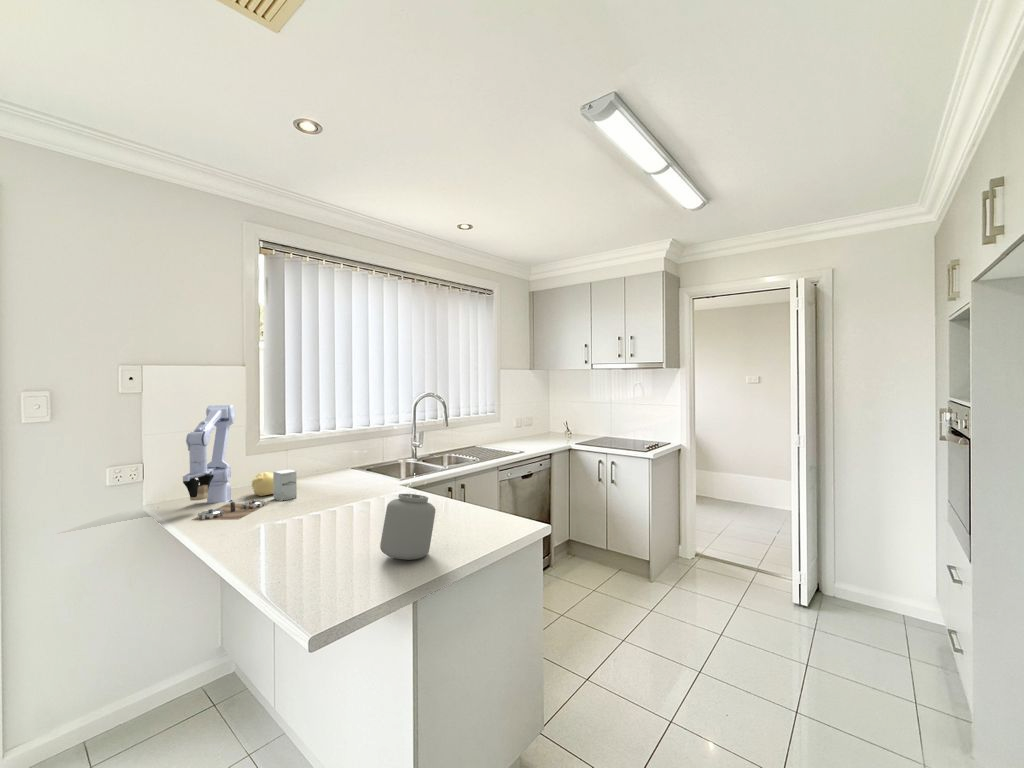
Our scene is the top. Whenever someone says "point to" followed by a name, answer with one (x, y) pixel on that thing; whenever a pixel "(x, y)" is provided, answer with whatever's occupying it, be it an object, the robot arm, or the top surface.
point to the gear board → (233, 512)
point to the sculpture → (263, 484)
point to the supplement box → (284, 485)
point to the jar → (408, 527)
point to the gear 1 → (210, 514)
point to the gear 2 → (253, 504)
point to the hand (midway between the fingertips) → (199, 495)
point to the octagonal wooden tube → (201, 493)
